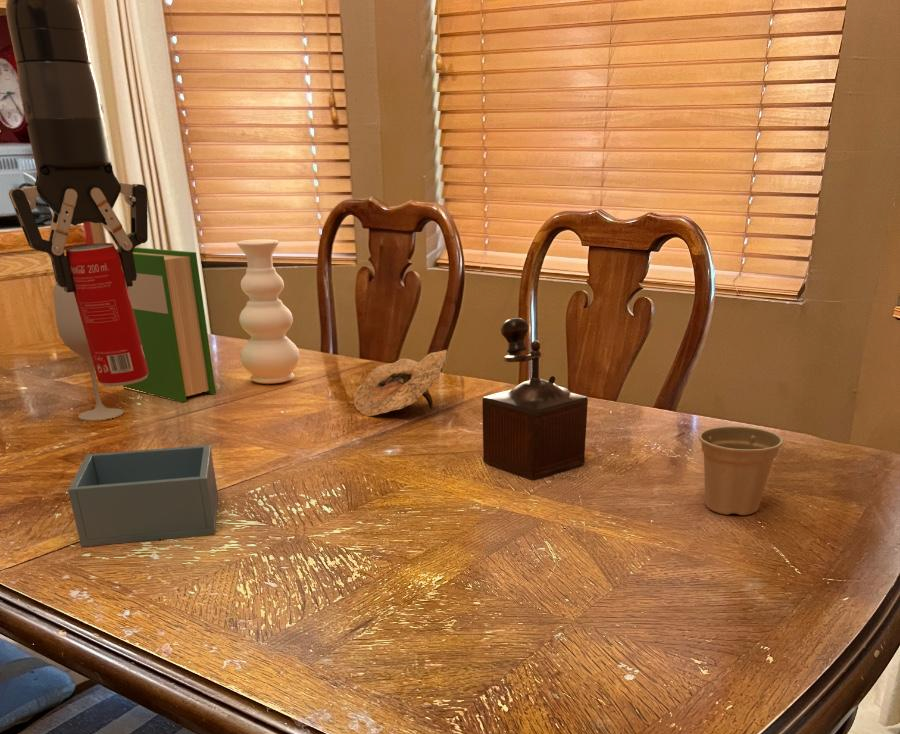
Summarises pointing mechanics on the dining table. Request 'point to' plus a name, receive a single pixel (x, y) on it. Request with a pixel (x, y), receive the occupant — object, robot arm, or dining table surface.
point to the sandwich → (398, 384)
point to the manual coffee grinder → (533, 418)
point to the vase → (265, 317)
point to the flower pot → (737, 467)
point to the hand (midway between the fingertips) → (98, 288)
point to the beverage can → (107, 314)
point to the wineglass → (79, 347)
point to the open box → (144, 495)
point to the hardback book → (171, 324)
